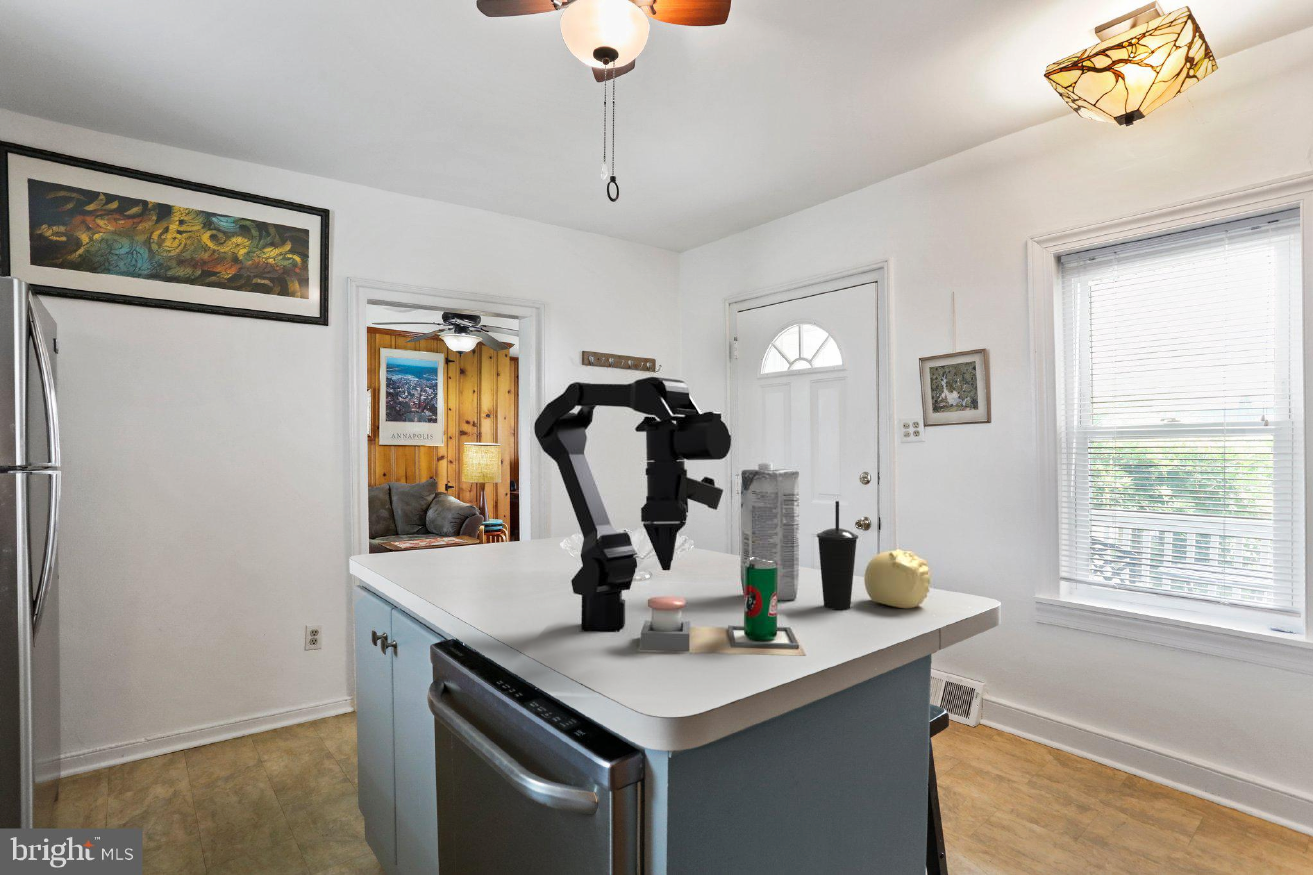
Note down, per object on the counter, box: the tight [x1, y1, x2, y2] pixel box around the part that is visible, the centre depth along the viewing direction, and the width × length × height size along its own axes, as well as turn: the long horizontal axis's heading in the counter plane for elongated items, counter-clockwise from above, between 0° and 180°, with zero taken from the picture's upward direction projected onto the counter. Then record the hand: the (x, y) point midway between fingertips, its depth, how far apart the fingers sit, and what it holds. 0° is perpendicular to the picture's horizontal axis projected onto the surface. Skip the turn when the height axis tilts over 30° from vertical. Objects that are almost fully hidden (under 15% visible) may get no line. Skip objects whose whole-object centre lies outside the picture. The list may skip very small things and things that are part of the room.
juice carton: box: [740, 462, 800, 602], centre depth 134 cm, size 9×10×27 cm
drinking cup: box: [816, 500, 859, 611], centre depth 127 cm, size 8×8×20 cm
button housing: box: [640, 620, 691, 651], centre depth 99 cm, size 7×7×2 cm
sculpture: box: [863, 548, 931, 609], centre depth 129 cm, size 12×12×11 cm
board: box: [636, 625, 807, 657], centre depth 102 cm, size 24×14×1 cm, turn 86°
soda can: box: [743, 557, 778, 641], centre depth 103 cm, size 5×5×12 cm
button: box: [647, 596, 686, 632], centre depth 100 cm, size 6×6×4 cm
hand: (667, 565), depth 100 cm, fingers open, 8 cm apart
